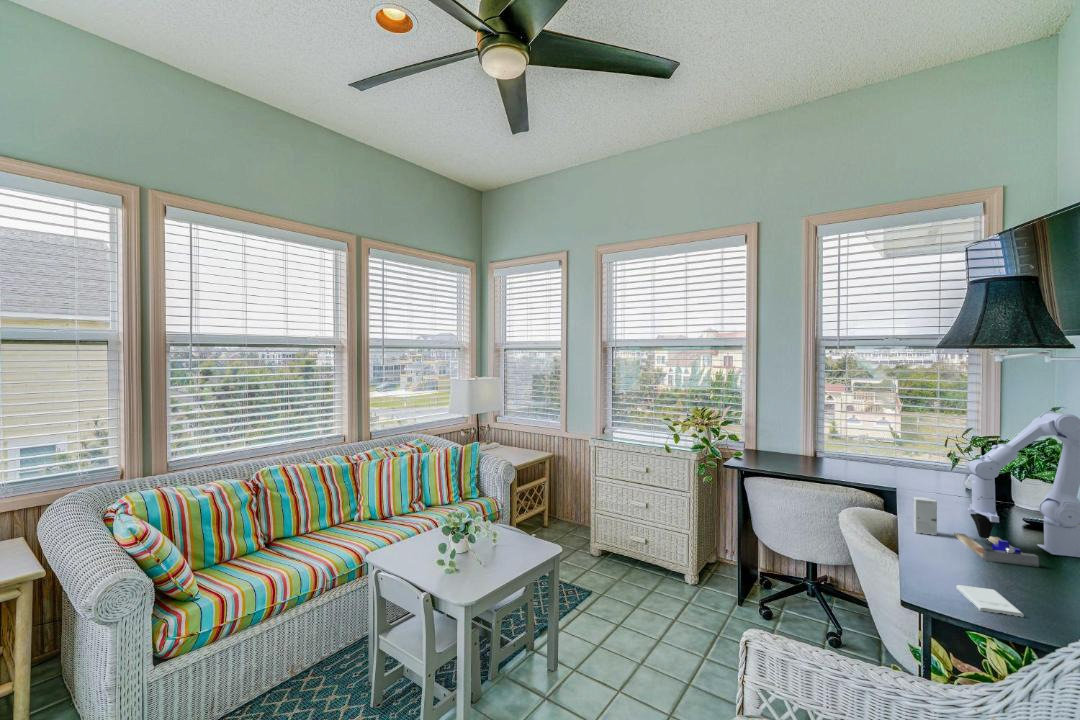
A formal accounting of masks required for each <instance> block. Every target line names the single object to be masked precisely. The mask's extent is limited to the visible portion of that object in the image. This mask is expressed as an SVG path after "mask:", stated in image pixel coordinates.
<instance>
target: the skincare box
mask: <svg viewBox="0 0 1080 720" xmlns="http://www.w3.org/2000/svg"><path fill="white" fill-rule="evenodd" d="M937 509H938V502H937V500H936V499H935V498H930V497H921V496H913V531H914V533H915V532H916V533H915V534H920V533H923V534H922V535H927V534H931V535H930V536H933V535H936V536H938V535H937V532H938V530H937V529H938V527H937V526H938V523H937V521H938V518H937V517H938V514H937V513H938V510H937Z"/></svg>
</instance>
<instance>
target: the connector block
mask: <svg viewBox="0 0 1080 720" xmlns="http://www.w3.org/2000/svg"><path fill="white" fill-rule="evenodd" d="M1005 550H1006V551H999V550H992V549H987V548H985V549H983V558H982V559H983V560H984V561H986V562H992V563H1001V564H1010V565H1017V566H1024V567H1025V566H1027V567H1035V568H1040V566H1039V565H1040V563H1039V562H1040V560H1039V559H1040V558H1039V556H1038V555H1036V554H1034V553H1025V552H1022V553H1018V552H1015V549H1013V548H1008V547H1006V548H1005Z"/></svg>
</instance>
